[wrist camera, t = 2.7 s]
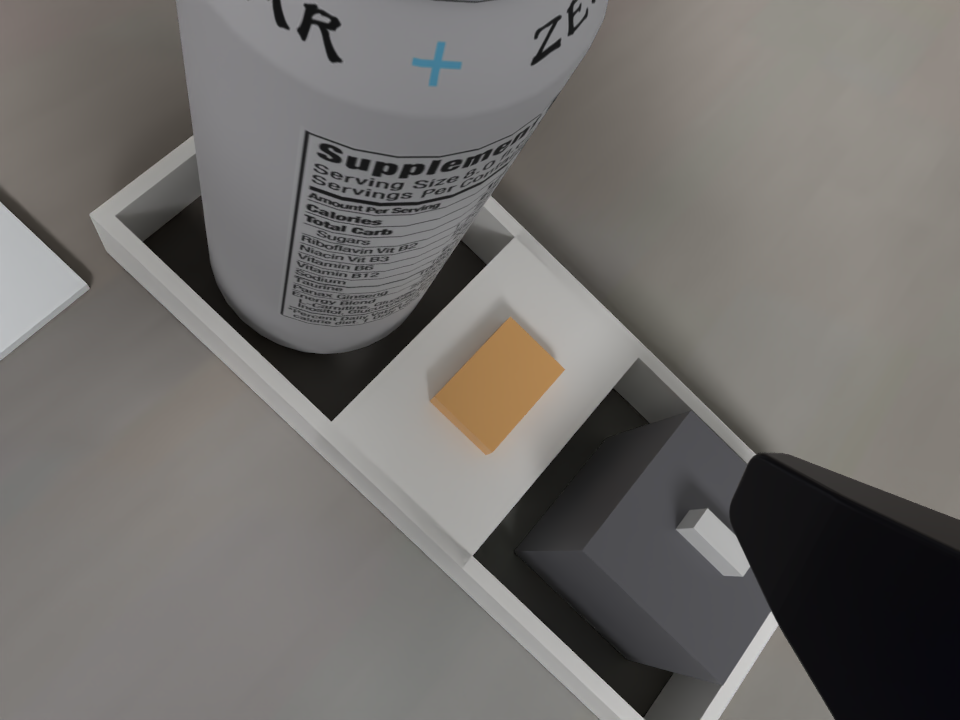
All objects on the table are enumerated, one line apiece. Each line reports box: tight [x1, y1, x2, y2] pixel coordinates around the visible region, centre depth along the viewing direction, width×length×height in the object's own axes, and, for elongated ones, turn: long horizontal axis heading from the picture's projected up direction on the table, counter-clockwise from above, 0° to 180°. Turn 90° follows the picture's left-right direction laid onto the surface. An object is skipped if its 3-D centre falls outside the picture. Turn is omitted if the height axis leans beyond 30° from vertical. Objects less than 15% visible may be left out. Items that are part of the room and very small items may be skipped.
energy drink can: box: [176, 0, 608, 354], centre depth 16 cm, size 6×6×15 cm
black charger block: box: [514, 410, 771, 686], centre depth 21 cm, size 4×4×6 cm
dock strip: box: [89, 135, 778, 720], centre depth 22 cm, size 20×8×3 cm, turn 49°
